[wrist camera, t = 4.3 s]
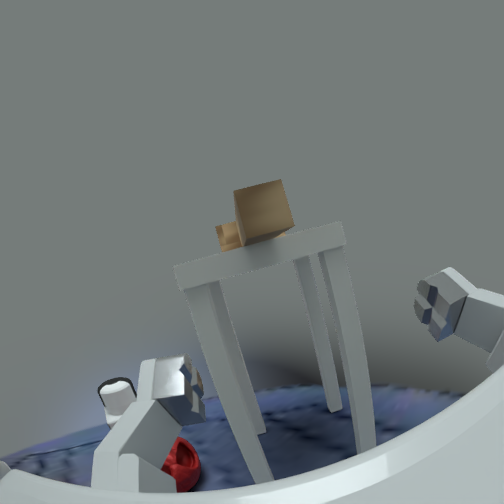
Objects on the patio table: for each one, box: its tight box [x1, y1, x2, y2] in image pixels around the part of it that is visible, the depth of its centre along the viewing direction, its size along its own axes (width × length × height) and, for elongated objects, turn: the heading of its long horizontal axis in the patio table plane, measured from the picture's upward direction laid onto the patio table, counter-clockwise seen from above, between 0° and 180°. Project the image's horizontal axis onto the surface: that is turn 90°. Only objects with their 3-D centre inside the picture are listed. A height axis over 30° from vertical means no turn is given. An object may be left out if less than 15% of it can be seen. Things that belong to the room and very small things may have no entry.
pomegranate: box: [161, 437, 201, 493], centre depth 25 cm, size 10×10×9 cm
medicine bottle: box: [98, 377, 137, 430], centre depth 36 cm, size 7×7×12 cm
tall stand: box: [173, 221, 376, 484], centre depth 29 cm, size 14×15×26 cm
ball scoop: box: [216, 179, 295, 252], centre depth 24 cm, size 6×20×3 cm, turn 2°
